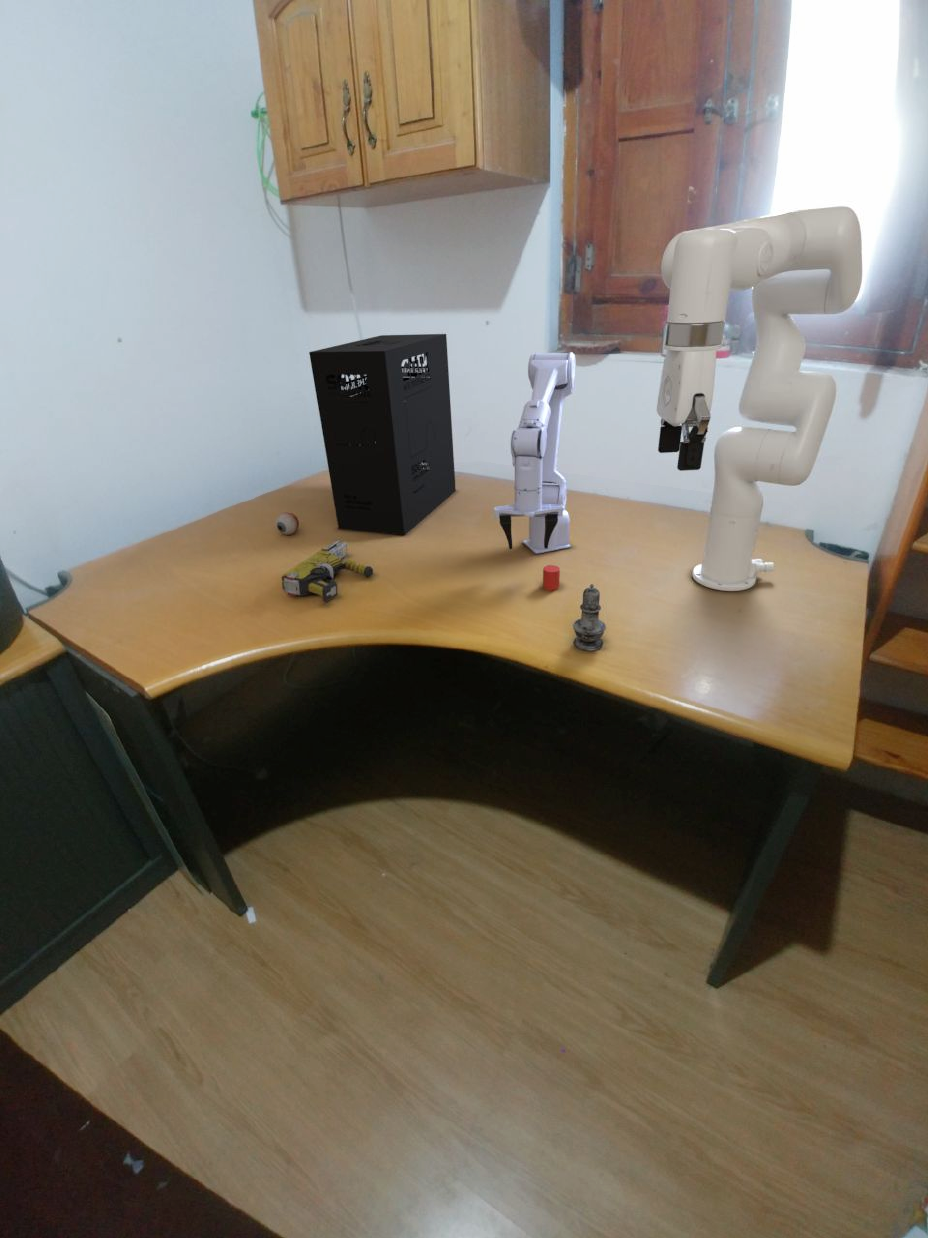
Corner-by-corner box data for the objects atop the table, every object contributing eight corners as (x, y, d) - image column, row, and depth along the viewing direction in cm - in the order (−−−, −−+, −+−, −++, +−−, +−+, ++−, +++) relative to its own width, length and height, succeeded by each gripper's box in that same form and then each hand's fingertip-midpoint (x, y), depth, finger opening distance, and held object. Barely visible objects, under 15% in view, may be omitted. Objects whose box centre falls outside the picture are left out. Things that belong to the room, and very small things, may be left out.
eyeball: (273, 537, 164) (268, 516, 161) (287, 528, 169) (282, 508, 166) (291, 539, 161) (286, 518, 158) (305, 530, 166) (301, 510, 163)
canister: (539, 587, 130) (540, 569, 128) (548, 581, 132) (549, 563, 130) (553, 591, 128) (553, 573, 126) (562, 585, 130) (562, 567, 128)
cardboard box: (397, 486, 197) (381, 335, 174) (455, 490, 190) (446, 333, 168) (338, 528, 167) (309, 351, 144) (404, 535, 160) (384, 350, 137)
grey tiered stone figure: (604, 652, 107) (609, 592, 101) (571, 650, 108) (573, 591, 102) (604, 635, 112) (609, 577, 106) (572, 633, 113) (575, 575, 107)
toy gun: (389, 548, 145) (334, 537, 149) (339, 588, 125) (277, 575, 129) (389, 566, 147) (335, 555, 151) (340, 608, 127) (279, 595, 131)
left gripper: (493, 494, 123) (495, 555, 130) (565, 491, 122) (563, 553, 128) (493, 483, 129) (495, 542, 136) (562, 481, 128) (560, 540, 135)
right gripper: (649, 332, 90) (638, 447, 99) (686, 344, 75) (670, 478, 84) (699, 329, 90) (684, 444, 99) (747, 341, 75) (724, 476, 84)
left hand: (528, 547), depth 132 cm, fingers open, 7 cm apart
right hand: (678, 460), depth 91 cm, fingers open, 9 cm apart
